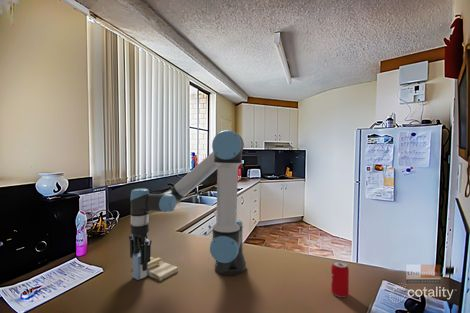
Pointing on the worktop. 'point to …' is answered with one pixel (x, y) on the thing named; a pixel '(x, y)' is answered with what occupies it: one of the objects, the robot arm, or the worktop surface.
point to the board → (161, 270)
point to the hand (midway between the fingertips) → (140, 275)
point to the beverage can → (340, 279)
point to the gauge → (137, 265)
